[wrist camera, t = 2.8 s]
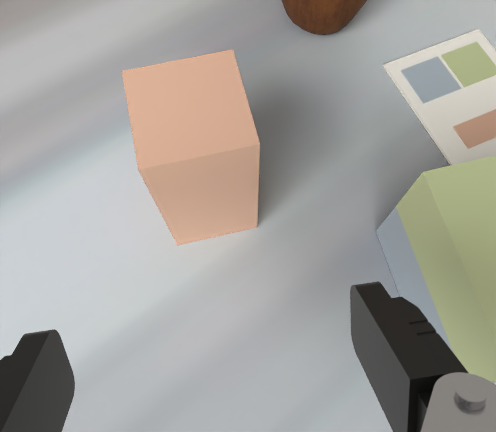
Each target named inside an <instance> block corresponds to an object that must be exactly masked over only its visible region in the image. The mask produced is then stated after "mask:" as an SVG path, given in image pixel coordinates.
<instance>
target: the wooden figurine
mask: <svg viewBox="0 0 496 432" xmlns="http://www.w3.org/2000/svg"><path fill="white" fill-rule="evenodd" d="M365 2H366V0H282V3H283V5H284V7H285V10H286V12H287V14H288V16H289V17H290V19H291V20H292V21H293V22H294V23H295V24H296V25H298V26H299V27H301V28H302V29H304V30H306V31H308V32H311V33H313V34H322V35H325V34H330V33H334V32H337V31H339V30H340V29H342V28H343V27H344V26H346V25H347V24H348V23H349V22H350V21H351V20H352V19H353V17H354V16H355V15H356V14H357V12H358V11H359V10H360V9H361V7H362V6H363V5H364V3H365Z"/></svg>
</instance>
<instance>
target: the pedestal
mask: <svg viewBox="0 0 496 432" xmlns="http://www.w3.org/2000/svg"><path fill="white" fill-rule="evenodd" d="M376 233H377V236H378V238H379V241H380V244H381V246H382V249H383V252H384V255H385V257H386V260H387V263H388V265H389V268H390V271H391V274H392V276H393V279H394V282H395V284H396V287H397V290H398V293H399V295H400V297H403V298H405V299H406V300H408V301H409V302H411V303H413V304H414V305H416V306H417V307H418V308H419V309H420V310H421V312H422V313H423V314H424V315H425V317H426V318H427V319H428V322H430V323H431V325H432V326H433V327H434V328H435V330H436V333H438V334H439V335H440V336H441V337H442V339H443V340H444V341H445V343H446V344H447V345H448V347H449V348H450V349H451V350H452V352H453V353H454V354H455V356H456V357H457V358H458V360H459V361H460V362H461V363H462V365H463V366H464V367H465V369H466V370H467V371H468V373H470V374H474V375H477V376H480V377H483V378H485V379H487V380H489V381H490V382H496V155H494V156H490V157H485V158H481V159H476V160H472V161H468V162H463V163H459V164H454V165H450V166H446V167H441V168H437V169H432V170H428V171H424V172H422V173H421V175H420V176H419V177H418V179H417V180H416V181H415V182H414V184H413V185H412V186H411V187H410V189H409V190H408V191H407V192H406V194H405V195H404V196H403V198H402V199H401V200H400V201H399V203H398V204H397V205H396V206H395V208H394V209H393V210H392V212H391V213H390V214H389V215H388V217H387V218H386V219H385V220H384V222H383V223H382V224H381V225H380V227H379V228H378V229H377V231H376Z"/></svg>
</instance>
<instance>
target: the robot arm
mask: <svg viewBox="0 0 496 432" xmlns="http://www.w3.org/2000/svg"><path fill="white" fill-rule="evenodd" d="M350 300H351V335H352V341H353V345H354V349H355V352H356V354H357V356H358V358H359V360H360V363H361V365H362V367H363V369H364V371H365V373H366V375H367V377H368V379H369V382H370V384H371V386H372V388H373V390H374V392H375V394H376V396H377V398H378V401H379V403H380V405H381V407H382V409H383V411H384V413H385V415H386V417H387V420H388V422H389V424H390V426H391V428H392V430H393V432H496V385H495V384H493V383H492V382H490V381H489V380H487V379H485V378H483V377H480V376H477V375H474V374H470V373H468V371H467V370H466V369H465V367H464V366H463V365H462V363H461V362H460V361H459V360H458V358H457V357H456V356H455V354H454V353H453V352H452V350H451V349H450V348H449V347H448V345H447V344H446V343H445V341H444V340H443V339H442V337H441V336H440V335H439V334H438V333H436V330H435V328H434V327H433V326H432V325H431V323H430V322H428V319H427V318H426V317H425V315H424V314H423V313H422V312H421V310H420V309H419V308H418V307H417V306H416V305H414V304H413V303H411V302H409V301H408V300H406V299H405V298H403V297H397V298H391V297H390V296H389V294H388V293H387V291H386V290H385V288H384V287H383V286H382V284H381V283H380V282H372V283H366V284H359V285H352V286H351V290H350ZM74 389H75V382H74V375H73V371H72V368H71V366H70V363H69V360H68V357H67V354H66V351H65V349H64V346H63V343H62V340H61V337H60V335H59V333H58V332H57V331H56V330H47V331H41V332H34V333H28V334H24V335H23V336H22V338H21V340H20V341H19V343H18V345H17V347H16V348H15V350H14V352H13V354H12V355H10V356H5V357H4V358H2V359H1V360H0V432H62V429H63V426H64V423H65V420H66V417H67V414H68V411H69V408H70V405H71V402H72V399H73V396H74Z"/></svg>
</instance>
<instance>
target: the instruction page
mask: <svg viewBox="0 0 496 432" xmlns="http://www.w3.org/2000/svg"><path fill="white" fill-rule="evenodd" d="M383 67H384V69H385V70H386V72H387V73H388V74H389V76H390V77H391V79H392V80H393V82H394V83H395V85H396V86H397V88H398V89H399V91H400V92H401V94H402V95H403V97H404V98H405V99H406V101H407V102H408V104H409V105H410V107H411V108H412V110H413V111H414V113H415V114H416V116H417V117H418V119H419V120H420V122H421V123H422V124H423V126H424V127H425V129H426V130H427V132H428V133H429V135H430V136H431V138H432V139H433V141H434V142H435V144H436V145H437V147H438V148H439V149H440V151H441V152H442V154H443V155H444V157H445V158H446V160H447V161H448V163H449V164H450V165H454V164H459V163H463V162H468V161H472V160H476V159H481V158H485V157H490V156H494V155H496V50H495V48H494V47H493V46H492V45H491V43H490V42H489V41H488V40H487V38H486V37H485V36H484V35H483V34H482V32H481V31H480V30H479V29H477V30H474V31H472V32H469V33H466V34H464V35H461V36H458V37H456V38H453V39H450V40H448V41H445V42H442V43H439V44H437V45H434V46H431V47H429V48H426V49H423V50H421V51H418V52H415V53H413V54H410V55H407V56H405V57H402V58H399V59H397V60H394V61H391V62H389V63H386V64H384V65H383Z"/></svg>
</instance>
